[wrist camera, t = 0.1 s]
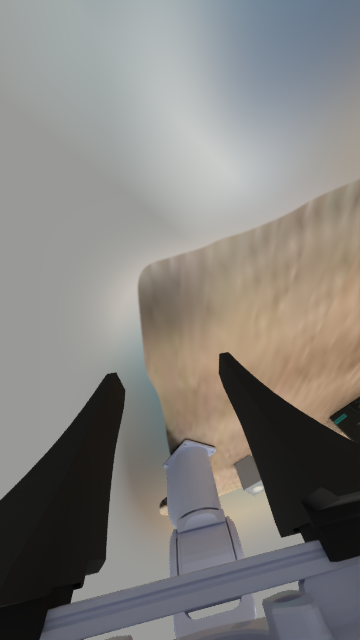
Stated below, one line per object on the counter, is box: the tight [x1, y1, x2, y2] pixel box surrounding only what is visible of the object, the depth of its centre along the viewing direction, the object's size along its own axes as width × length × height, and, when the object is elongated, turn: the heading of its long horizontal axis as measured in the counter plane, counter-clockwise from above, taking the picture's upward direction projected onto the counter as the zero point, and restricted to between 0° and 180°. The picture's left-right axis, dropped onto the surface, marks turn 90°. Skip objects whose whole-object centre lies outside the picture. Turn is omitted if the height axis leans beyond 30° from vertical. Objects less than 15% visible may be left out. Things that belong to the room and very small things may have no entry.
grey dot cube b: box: [234, 455, 265, 495], centre depth 35 cm, size 4×4×5 cm
